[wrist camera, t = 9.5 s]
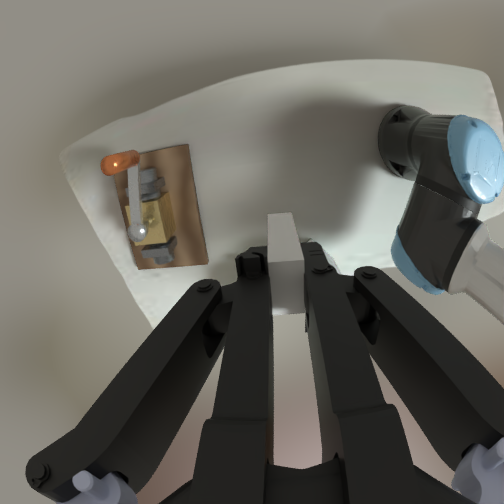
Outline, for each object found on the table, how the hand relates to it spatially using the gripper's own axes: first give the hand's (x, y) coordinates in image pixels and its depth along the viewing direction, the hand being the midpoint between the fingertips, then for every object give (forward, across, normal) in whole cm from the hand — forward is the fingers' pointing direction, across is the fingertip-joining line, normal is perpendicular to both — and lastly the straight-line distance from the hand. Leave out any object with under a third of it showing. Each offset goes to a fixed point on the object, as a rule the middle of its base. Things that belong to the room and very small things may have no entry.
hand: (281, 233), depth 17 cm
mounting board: (+33, -23, -6) cm, 40 cm away
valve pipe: (+32, -23, -6) cm, 39 cm away
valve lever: (+23, -21, 0) cm, 31 cm away
